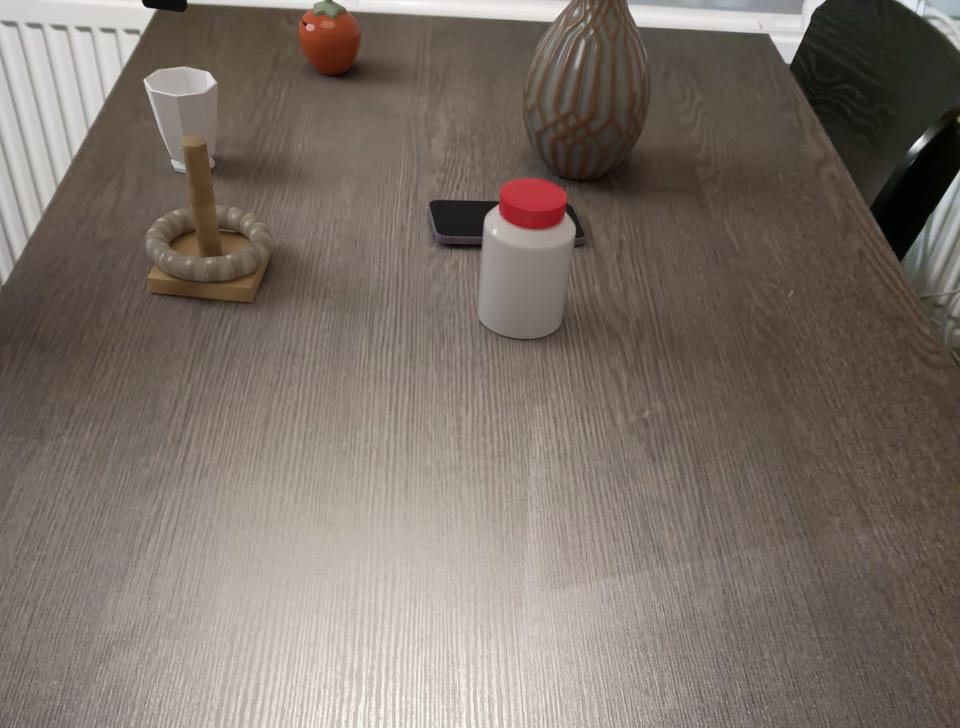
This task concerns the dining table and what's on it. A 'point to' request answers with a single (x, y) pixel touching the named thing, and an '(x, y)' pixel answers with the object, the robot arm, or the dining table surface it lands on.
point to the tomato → (329, 37)
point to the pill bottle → (526, 260)
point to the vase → (587, 89)
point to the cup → (184, 108)
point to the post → (205, 237)
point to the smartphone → (473, 220)
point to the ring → (209, 266)
